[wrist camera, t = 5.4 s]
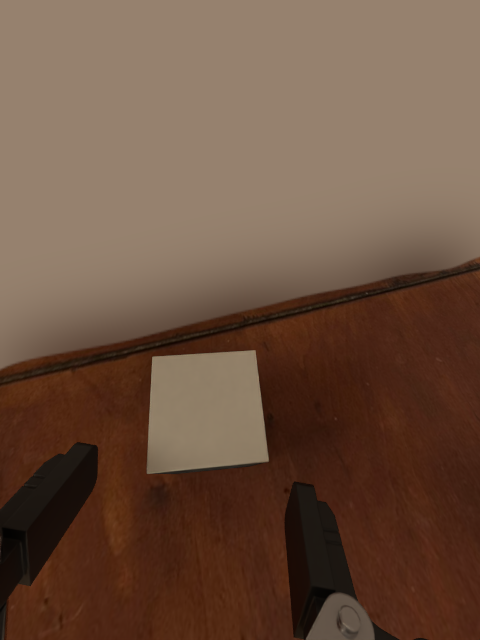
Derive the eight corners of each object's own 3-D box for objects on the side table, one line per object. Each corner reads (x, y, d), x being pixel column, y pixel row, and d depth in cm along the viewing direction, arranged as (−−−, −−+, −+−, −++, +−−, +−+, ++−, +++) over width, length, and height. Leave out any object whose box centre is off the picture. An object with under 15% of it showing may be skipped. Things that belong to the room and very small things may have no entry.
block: (173, 474, 19) (146, 474, 12) (174, 395, 21) (152, 356, 14) (250, 466, 19) (269, 461, 12) (243, 390, 22) (255, 350, 14)
